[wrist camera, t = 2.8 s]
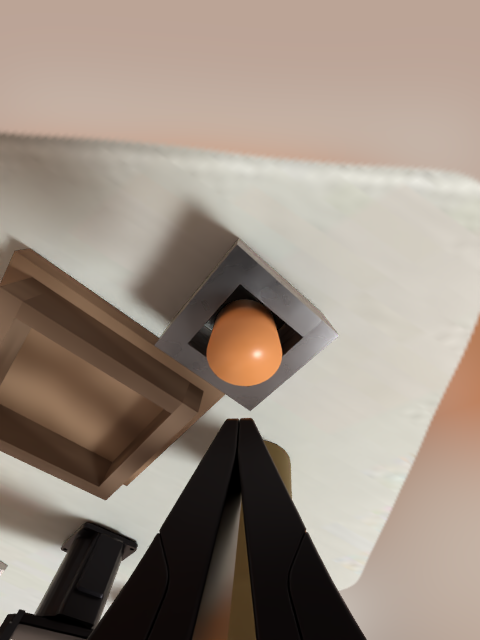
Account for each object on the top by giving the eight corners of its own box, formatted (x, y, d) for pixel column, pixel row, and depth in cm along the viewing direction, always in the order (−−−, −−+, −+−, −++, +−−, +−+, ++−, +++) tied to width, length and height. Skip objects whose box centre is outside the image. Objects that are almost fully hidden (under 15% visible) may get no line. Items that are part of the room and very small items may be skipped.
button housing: (249, 380, 18) (250, 411, 15) (170, 322, 16) (154, 345, 13) (322, 313, 15) (339, 335, 12) (239, 238, 14) (236, 244, 11)
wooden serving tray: (131, 474, 22) (115, 511, 20) (-36, 388, 19) (-84, 419, 16) (226, 385, 18) (222, 416, 15) (29, 248, 14) (-23, 256, 11)
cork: (211, 449, 21) (176, 672, 11) (278, 432, 20) (310, 662, 10) (237, 491, 23) (228, 708, 13) (298, 478, 22) (342, 703, 12)
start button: (247, 364, 15) (247, 397, 12) (202, 330, 14) (191, 358, 12) (288, 325, 14) (297, 353, 11) (241, 286, 13) (240, 305, 10)
